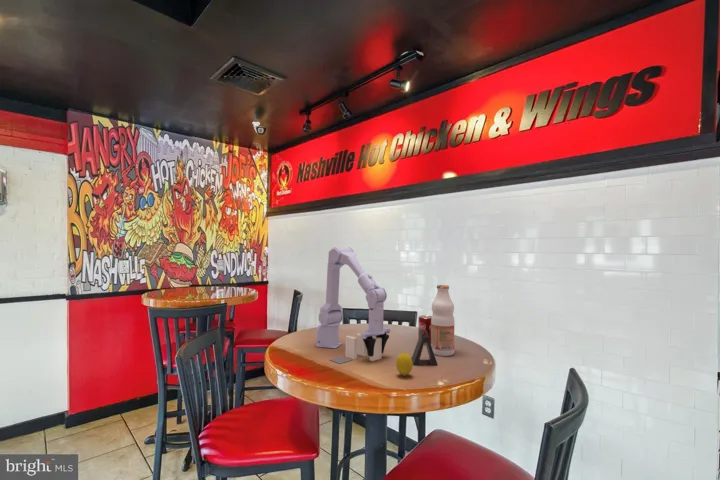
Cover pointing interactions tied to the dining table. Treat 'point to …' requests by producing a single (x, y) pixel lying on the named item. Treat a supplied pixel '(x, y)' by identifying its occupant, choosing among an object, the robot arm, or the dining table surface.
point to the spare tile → (377, 350)
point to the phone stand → (418, 350)
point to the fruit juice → (442, 323)
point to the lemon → (404, 363)
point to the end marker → (340, 360)
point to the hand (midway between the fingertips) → (375, 354)
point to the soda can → (424, 325)
